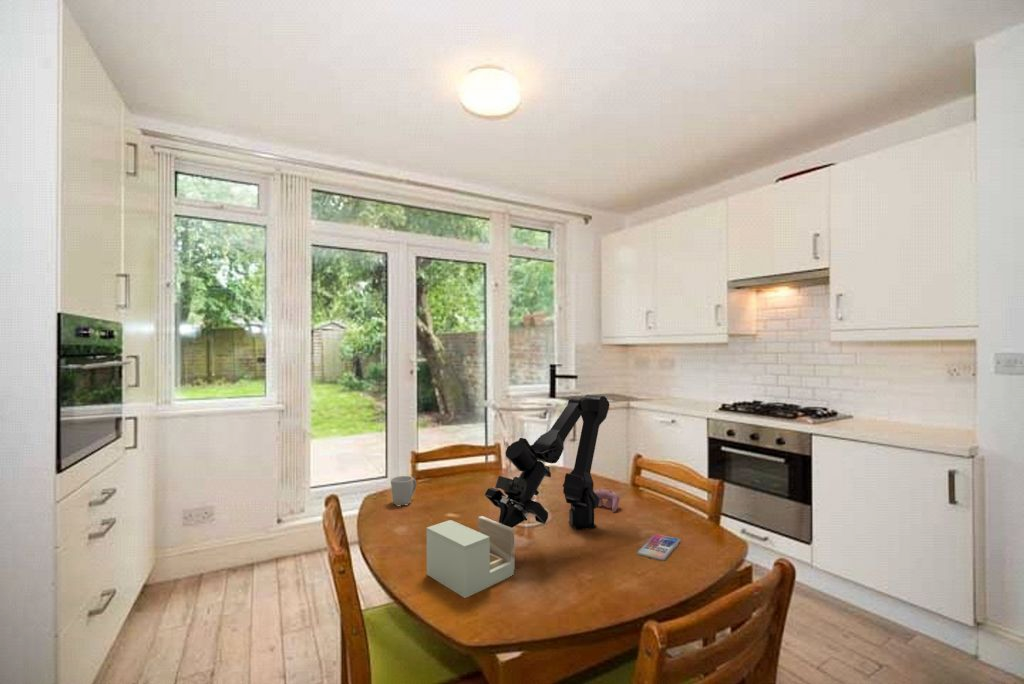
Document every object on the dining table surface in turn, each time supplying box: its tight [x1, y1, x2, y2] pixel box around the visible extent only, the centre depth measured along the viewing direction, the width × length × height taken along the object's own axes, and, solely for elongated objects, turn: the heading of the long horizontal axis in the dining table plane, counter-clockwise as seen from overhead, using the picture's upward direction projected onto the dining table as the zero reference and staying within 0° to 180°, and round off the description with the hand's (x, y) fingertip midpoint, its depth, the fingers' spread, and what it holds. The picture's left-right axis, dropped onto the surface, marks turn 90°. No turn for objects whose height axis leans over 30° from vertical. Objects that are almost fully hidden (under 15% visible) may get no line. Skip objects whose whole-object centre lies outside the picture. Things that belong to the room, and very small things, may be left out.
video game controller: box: [593, 488, 621, 513], centre depth 154 cm, size 10×5×7 cm, turn 59°
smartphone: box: [636, 533, 681, 562], centre depth 123 cm, size 7×1×15 cm
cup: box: [390, 475, 417, 506], centre depth 161 cm, size 8×10×8 cm
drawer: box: [477, 515, 516, 572], centre depth 110 cm, size 14×12×10 cm
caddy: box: [426, 519, 515, 599], centre depth 109 cm, size 14×15×11 cm
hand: (498, 534), depth 115 cm, fingers closed
